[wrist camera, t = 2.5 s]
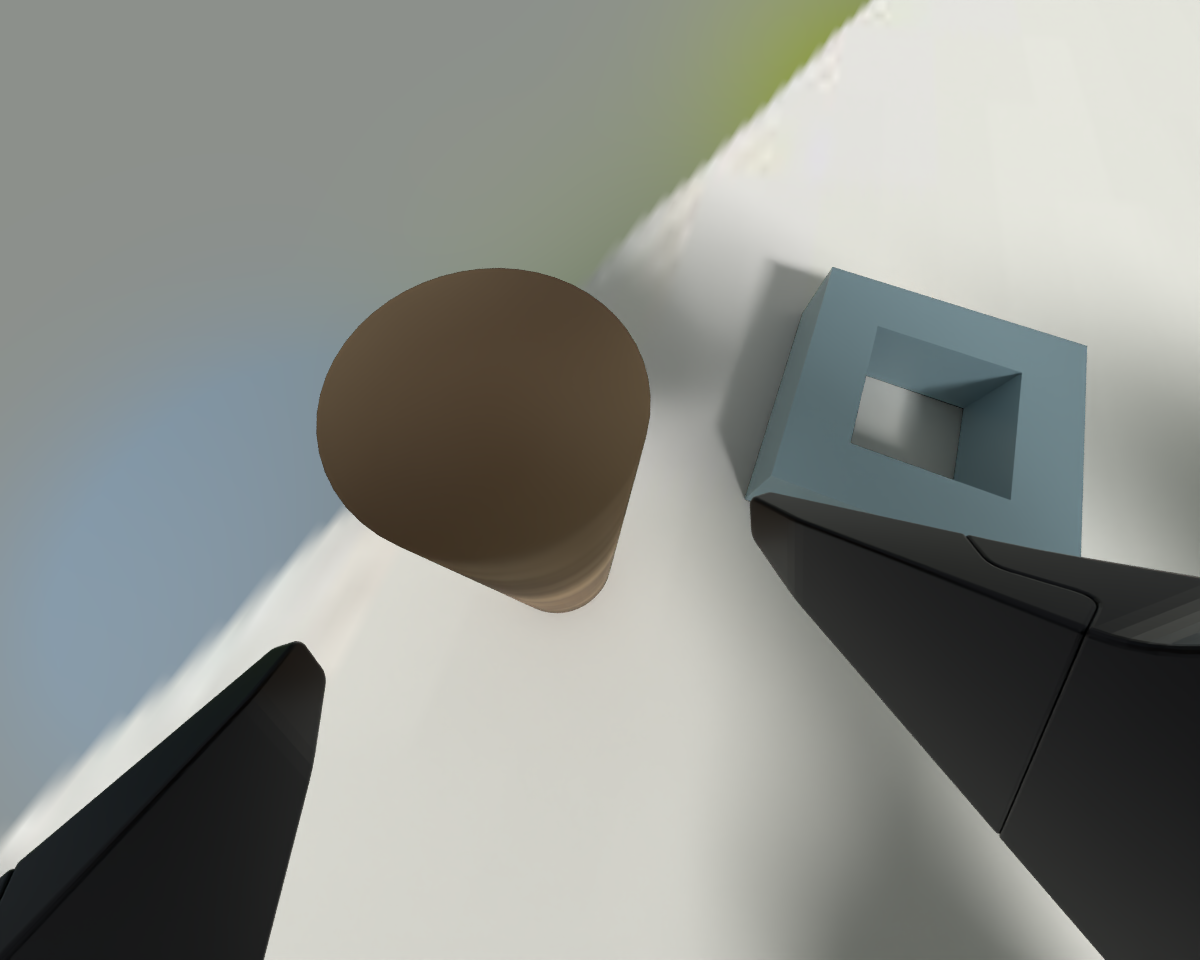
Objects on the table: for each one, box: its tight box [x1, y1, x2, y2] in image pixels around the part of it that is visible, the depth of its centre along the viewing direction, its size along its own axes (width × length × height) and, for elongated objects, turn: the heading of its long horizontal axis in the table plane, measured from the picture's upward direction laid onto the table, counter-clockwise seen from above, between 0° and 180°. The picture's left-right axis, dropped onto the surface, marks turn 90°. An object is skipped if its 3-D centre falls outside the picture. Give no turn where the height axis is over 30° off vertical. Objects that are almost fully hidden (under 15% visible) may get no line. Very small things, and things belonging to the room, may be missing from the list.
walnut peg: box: [316, 268, 650, 613], centre depth 12 cm, size 4×4×13 cm
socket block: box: [745, 267, 1087, 557], centre depth 19 cm, size 11×11×3 cm
